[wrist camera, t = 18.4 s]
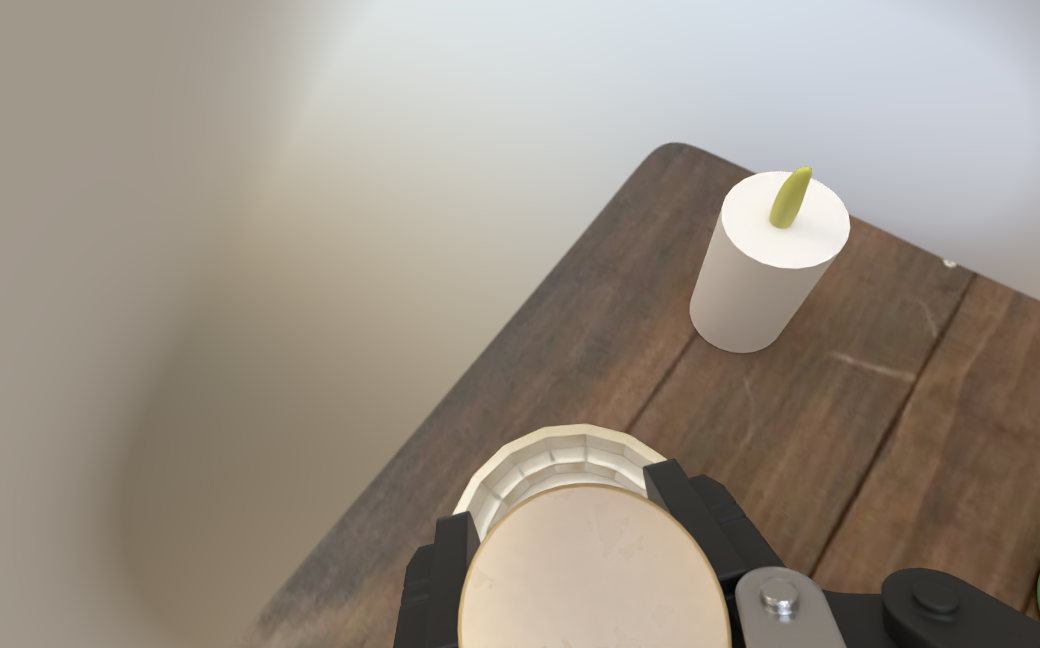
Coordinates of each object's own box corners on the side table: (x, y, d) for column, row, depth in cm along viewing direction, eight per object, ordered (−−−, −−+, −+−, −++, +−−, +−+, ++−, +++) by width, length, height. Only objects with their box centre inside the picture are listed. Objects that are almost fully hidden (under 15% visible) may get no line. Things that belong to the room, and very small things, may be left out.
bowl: (493, 730, 28) (471, 761, 23) (451, 478, 35) (426, 457, 29) (735, 667, 28) (769, 683, 23) (650, 426, 35) (661, 396, 29)
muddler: (541, 702, 17) (479, 830, 7) (517, 569, 19) (440, 510, 9) (661, 674, 17) (782, 759, 7) (625, 545, 19) (677, 457, 9)
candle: (798, 292, 37) (913, 125, 24) (764, 368, 35) (869, 232, 22) (711, 258, 40) (772, 87, 26) (674, 328, 37) (720, 181, 24)
